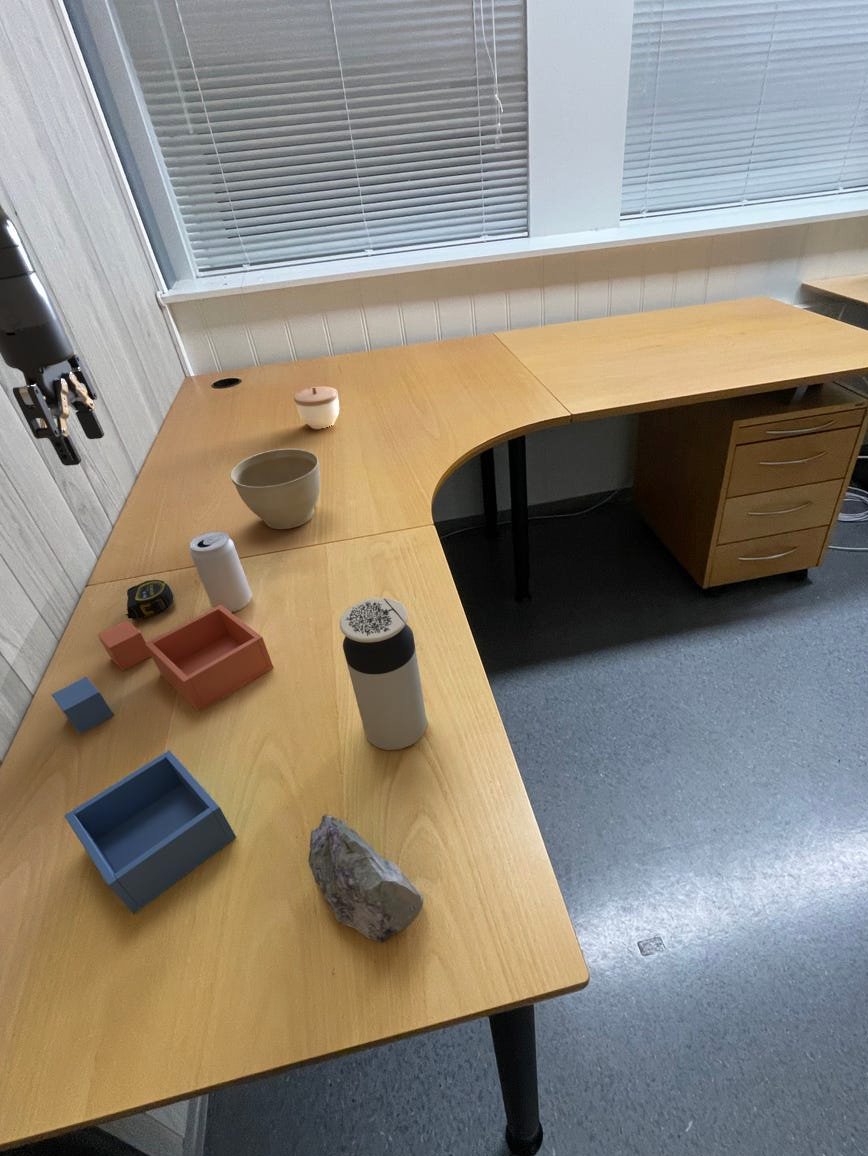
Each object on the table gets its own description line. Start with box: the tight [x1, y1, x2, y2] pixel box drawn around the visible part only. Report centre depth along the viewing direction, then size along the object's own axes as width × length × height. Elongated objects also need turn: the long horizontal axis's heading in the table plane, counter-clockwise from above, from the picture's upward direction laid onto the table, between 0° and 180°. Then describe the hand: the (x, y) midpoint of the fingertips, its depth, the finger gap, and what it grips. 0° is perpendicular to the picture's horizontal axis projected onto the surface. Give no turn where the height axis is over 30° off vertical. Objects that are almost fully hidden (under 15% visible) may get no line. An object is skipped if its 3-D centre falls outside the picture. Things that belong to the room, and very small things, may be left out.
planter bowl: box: [230, 448, 321, 530], centre depth 119 cm, size 16×16×11 cm
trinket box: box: [293, 386, 340, 430], centre depth 156 cm, size 11×11×9 cm
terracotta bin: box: [145, 605, 274, 713], centre depth 88 cm, size 12×12×6 cm
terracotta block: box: [96, 619, 151, 672], centre depth 91 cm, size 4×4×4 cm
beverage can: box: [189, 531, 253, 613], centre depth 98 cm, size 6×6×12 cm
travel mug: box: [339, 597, 428, 751], centre depth 74 cm, size 8×8×18 cm
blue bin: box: [63, 749, 237, 915], centre depth 67 cm, size 12×12×6 cm
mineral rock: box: [308, 814, 424, 943], centre depth 60 cm, size 13×11×10 cm
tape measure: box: [125, 579, 175, 621], centre depth 101 cm, size 7×7×4 cm
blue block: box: [50, 676, 115, 735], centre depth 82 cm, size 4×4×4 cm
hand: (85, 450), depth 83 cm, fingers open, 8 cm apart
